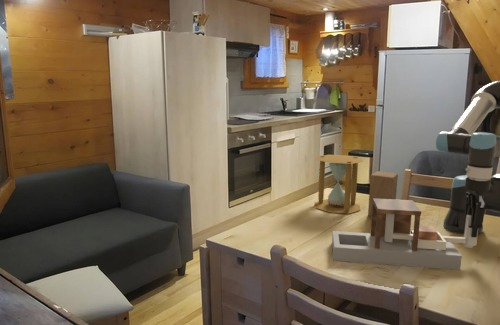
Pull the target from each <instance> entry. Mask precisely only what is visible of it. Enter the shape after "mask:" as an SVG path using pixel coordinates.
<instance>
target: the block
mask: <svg viewBox="0 0 500 325" xmlns="http://www.w3.org/2000/svg"><path fill="white" fill-rule="evenodd" d="M437 232H438V231H437V230H436V229H435V228H434V226H433V225H419V236H418V238H419V239H422V240H436V239H437Z"/></svg>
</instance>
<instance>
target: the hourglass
mask: <svg viewBox="0 0 500 325" xmlns="http://www.w3.org/2000/svg"><path fill="white" fill-rule="evenodd" d="M315 161H319V169H318V170H319V172H318V196H317V197H318V201H315V202H314V209H318V210H322V211H325V212H328V213H334V214H335V213H339V214H349V215H350V214H352V213H354V212H355V213H356V212H358V211H361V206H360V204H359V203H356V201H357V200H356V199H357V187H358V169H359V168H358V166H359V163H363V162H364V161H363V158H362V157H359V156H352V155H345V154H343V155H342V154H326V155H325V154H324V155H318V156H316V158H315ZM326 163H329V169H330V171H331V173H332V174H333V177H334V179H335V180H336V184H334V185H335V186H334V187H333V188H332V190H331V191H330V193H329V194H328V196H327V199H324V195H325V178H326V177H325V175H326V172H325V171H326ZM344 175H345V180H344V181H345V182H344V190H343V188H342V186H341V184H340V181H341V180H342V179H343V177H344Z"/></svg>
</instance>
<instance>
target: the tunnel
mask: <svg viewBox="0 0 500 325" xmlns="http://www.w3.org/2000/svg"><path fill="white" fill-rule="evenodd" d="M386 214H394V227H393V233H403V234H411V227H412V226H411V225H412V216H414V223H413V230H414V231H413V243H412V251H417V246H418V236H419V226H421V216H422V215H421V214H422V211H421V209H420V208H419V207H418V205H417V204H416V203H415V202H414V200H413V199H397V198H396V199H376V198H373V204H372V217H371V220H370V221H371V222H370V233H371V234H370V235H371V236H375V248H377V249H379V248H380V236H384V237H385V224H386Z"/></svg>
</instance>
